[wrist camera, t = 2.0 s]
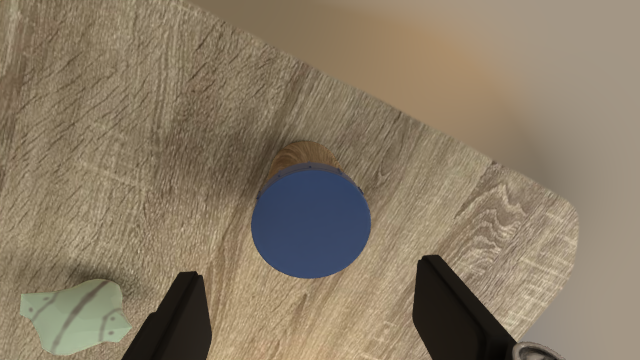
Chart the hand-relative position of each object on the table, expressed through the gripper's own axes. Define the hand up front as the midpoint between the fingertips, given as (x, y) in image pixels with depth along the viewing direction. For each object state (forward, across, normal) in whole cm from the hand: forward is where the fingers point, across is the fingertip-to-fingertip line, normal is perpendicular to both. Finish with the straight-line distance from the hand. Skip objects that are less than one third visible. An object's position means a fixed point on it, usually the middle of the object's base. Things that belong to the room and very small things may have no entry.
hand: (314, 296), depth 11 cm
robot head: (+16, +18, +10) cm, 26 cm away
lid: (+6, 0, 0) cm, 6 cm away
